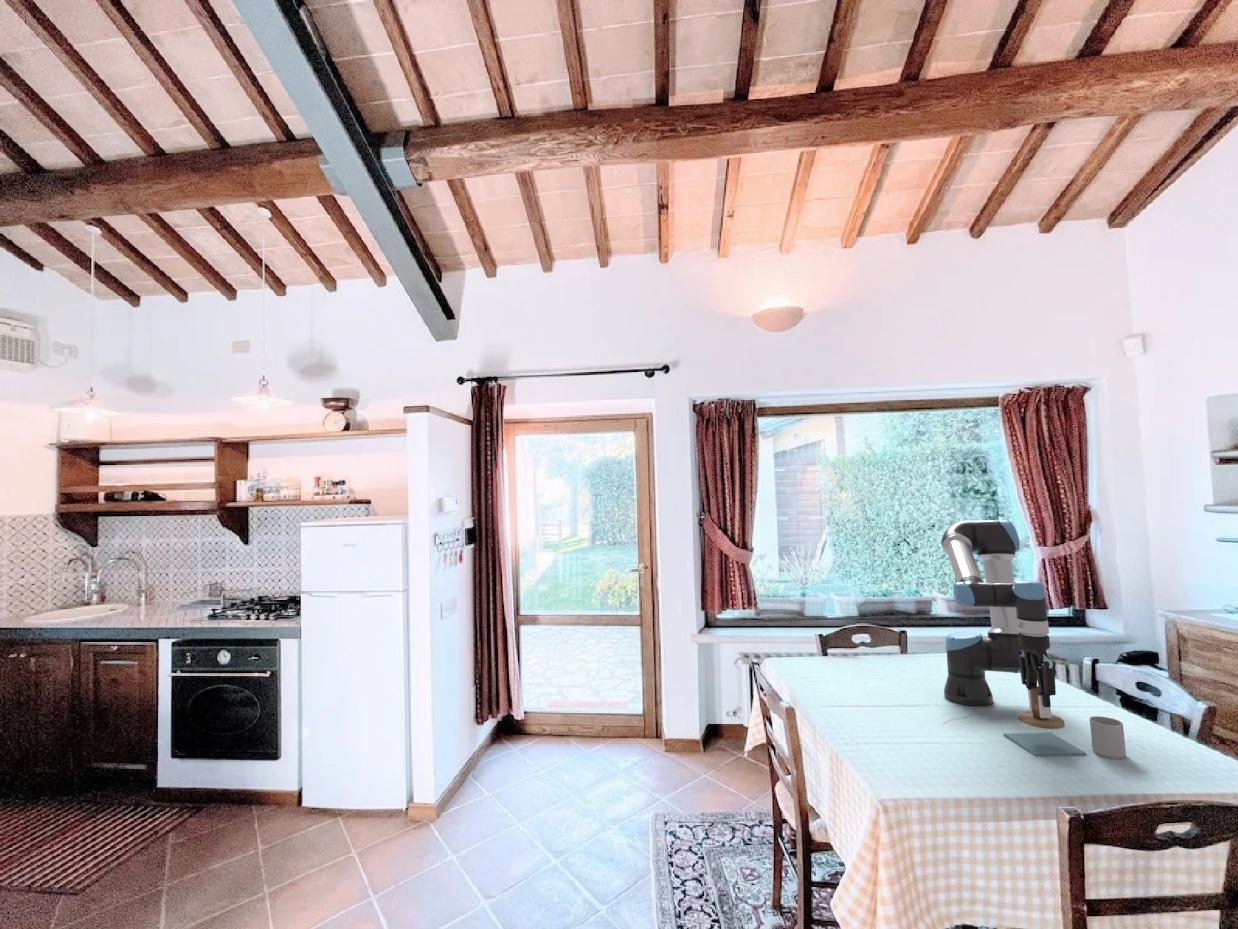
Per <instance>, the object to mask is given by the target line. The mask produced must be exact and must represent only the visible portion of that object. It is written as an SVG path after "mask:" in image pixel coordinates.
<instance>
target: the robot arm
mask: <svg viewBox="0 0 1238 929" xmlns="http://www.w3.org/2000/svg"><path fill="white" fill-rule="evenodd" d="M941 547H942V550H943V552H944V553H945V554H946V555H947V556H948V558H949V561H950V562H949V563H950V565H951V567H952V570H953V573H954V576H955V579H956V582H955V583H953V586H952V590H953V600H954V602H955V604H956V605H957V606H962V607H963V606H965V607H968V608H969V607H985V608H986V607H988V608H989V615H990V625H991V627H990V629H989V630H988V631H987V636H983V635H982V633H981V632H977V631H970V630H969V631H968V630H967V631H965V630H964V631H955V632H952V633H949V634H948V635H947V636H946V638H945V647H944V649H945V651H946V663H947V664H946V665H947V677H946V682H945V685H944V688H943V696H944V698H945V699H947V700H949V701H951V702H953V703H957V704H961V705H967V706H975V707H976V706H978V707H981V706H990V705H992V704H993V703H994V697H993V694H992V691H991V688H990V686H989V684H988V682H987V678H986V672H996V673H997V672H999V673H1010V674H1011V673H1012V674H1013V673H1014V674H1020V678H1021V684H1022V685H1025V687H1026V689H1027V693H1028V695H1027V696H1028V702H1029V711H1030V712H1031V713H1033V710H1032V699H1031V689H1032V688H1038V689H1039V691H1040V693H1037V694H1038V700H1039V711H1040V717H1041V718H1051V715H1052V711H1051V706H1052V705H1051V696H1056V695H1057V694H1056V693H1057V692H1056V676H1055V675H1056V674H1055V672H1056V671H1055V669H1056V666H1057V664H1056V662H1055V661H1053V660H1050V659H1049V656H1048V654H1047V651H1048V650H1049V649H1050V648H1051V641H1050V636H1049V635H1048V634H1050V627H1049V620H1048V609H1047V607H1048V606H1047V598H1046V596H1047V593H1046V590H1045V584H1044V583H1043V582H1041V581H1038V580H1029V579H1028V580H1027V579H1021V580H1020V579H1019V580H1015V579H1014V573H1013V565H1012V564H1013V563H1012V560H1013V559H1014V558H1015V557H1016V552H1019V551H1020V549H1021V545H1020V538H1019V534H1018V531H1017V529H1016V527H1015V525H1014V524H1013V523H1012V522H1011V521H1010V520H1005V519H988V520H987V519H985V520H962V521H958V522H956V523H953V524H952V525H951V526H949V527H948V528H947V529H946V530H945V531H944V533H943V535H942V538H941ZM973 552H977V557H978V558H979V559H980V560H982V561H983V566H984V576H985V582H984V579H983V577H982V574H981V572H980V569H979V567H978V563H977V561H976V559H975V556H974V554H973Z"/></svg>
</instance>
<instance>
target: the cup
mask: <svg viewBox="0 0 1238 929" xmlns="http://www.w3.org/2000/svg"><path fill="white" fill-rule="evenodd" d="M1089 726H1090V728H1089V729H1090V738H1091V747H1092V751H1093V752H1094V753H1095V754H1096V755H1097V756H1100V757H1104V758H1108V759H1113V760H1123V759H1125V758H1126V756H1127V751H1126V742H1125V732H1124V723H1123V722H1122V721H1120V720H1119V719H1115V718H1111V717H1108V716H1098V715H1097V716H1095V715H1094V716H1090V717H1089Z"/></svg>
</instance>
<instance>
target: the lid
mask: <svg viewBox="0 0 1238 929" xmlns="http://www.w3.org/2000/svg"><path fill="white" fill-rule="evenodd" d="M1037 693H1040V691H1039V689H1038V688H1032V689H1031V699H1032V710H1033V713H1031V712H1030V710H1028V711H1021V712H1018V714H1017V720H1019V721H1020V722H1021V723H1023V724H1025V725H1028V726H1031V727H1035V728H1041V729H1046V730H1047V729H1048V730H1057V729H1058V730H1059V729H1063V728H1064V727H1065V720H1064V719H1063V718H1062V717H1060V716H1057V715H1054V714H1051V718H1041V717H1040V711H1039V700H1038V694H1037Z"/></svg>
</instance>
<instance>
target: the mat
mask: <svg viewBox="0 0 1238 929" xmlns="http://www.w3.org/2000/svg"><path fill="white" fill-rule="evenodd" d="M1003 736H1004V737H1005V738H1007V739H1009V740H1010V741H1011V742H1013V743H1014V744H1016V745H1017V746H1019V747H1021V748H1022V749H1024V750H1025V751H1027V752H1028V753H1029V754H1030V755H1032V756H1034V757H1046V756H1047V757H1048V756H1052V757H1054V756H1055V757H1056V756H1060V757H1061V756H1087V752H1086V751H1084V750H1082V749H1080V748H1078V747H1077V746H1074V745H1073V744H1072V743H1070V742H1068V741H1066V740H1065V739H1063V738H1061V737H1059V736H1057V735H1056V734H1054V733H1052V732H1017V733H1016V732H1012V733H1011V732H1009V733H1007V732H1006V733H1003Z"/></svg>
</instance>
